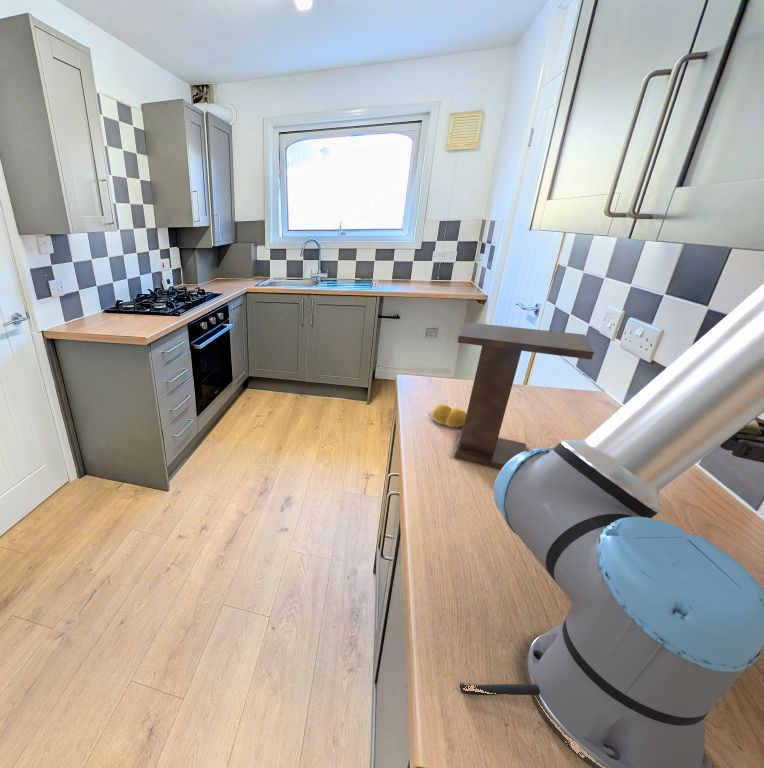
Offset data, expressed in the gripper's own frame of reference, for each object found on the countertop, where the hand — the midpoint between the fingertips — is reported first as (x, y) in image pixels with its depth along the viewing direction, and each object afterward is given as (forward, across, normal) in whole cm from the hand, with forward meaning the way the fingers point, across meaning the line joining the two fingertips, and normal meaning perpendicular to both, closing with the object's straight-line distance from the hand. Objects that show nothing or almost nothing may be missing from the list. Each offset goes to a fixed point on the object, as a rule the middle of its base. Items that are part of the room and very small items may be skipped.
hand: (661, 423), depth 65 cm
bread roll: (+32, +23, -20) cm, 44 cm away
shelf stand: (+22, +11, -20) cm, 31 cm away
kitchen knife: (+3, 0, -6) cm, 6 cm away
